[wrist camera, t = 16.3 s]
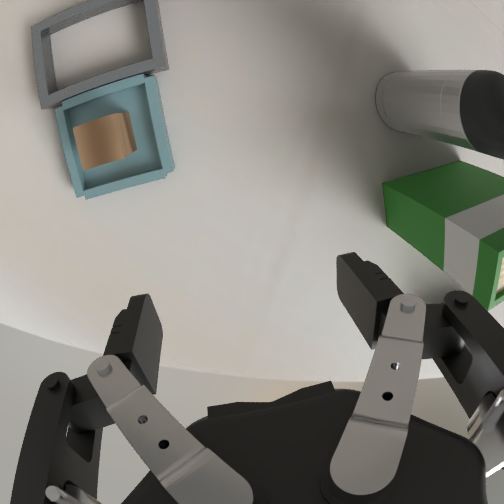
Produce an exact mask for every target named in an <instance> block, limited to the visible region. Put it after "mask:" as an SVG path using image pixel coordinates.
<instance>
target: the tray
mask: <svg viewBox="0 0 504 504" xmlns="http://www.w3.org/2000/svg"><path fill="white" fill-rule="evenodd" d="M125 112H129V114H130V119H131V124H132V128H133V133H134V137H135V142H136V146H137V150H136V151H134V152H133V153H131V154H130V155H128V156H127V157H125V158H123V159H120V160H116V161H113V162H110V163H106V164H103V165H100V166H97V167H94V168H90V169H87V170H84V171H83V168H82V164H81V161H80V157H79V153H78V149H77V145H76V141H75V136H74V132H73V128H74V127H76V126H79V125H82V124H84V123H87V122H90V121H93V120H96V119H98V118H101V117H104V116H107V115H110V114H114V113H125ZM55 114H56V119H57V123H58V128H59V133H60V137H61V141H62V146H63V150H64V154H65V158H66V161H67V165H68V169H69V173H70V176H71V180H72V183H73V187H74V190H75V193H76V197H77V198H78V197H81V196H84V195H85V199H90V198H93V197H96V196H100V195H103V194H107V193H110V192H114V191H117V190H121V189H125V188H128V187H132V186H136V185H140V184H144V183H148V182H151V181H155V180H160V179H164V178H165V177H166V175H167V173H168V172H172V171H174V169H175V166H174V161H173V157H172V152H171V147H170V143H169V138H168V133H167V128H166V123H165V118H164V113H163V108H162V103H161V98H160V93H159V87H158V82H157V77H155V76H150V77H147V76H146V75H145V74H140V75H136V76H133V77H130V78H126V79H123V80H120V81H117V82H114V83H110V84H107V85H105V86H102V87H99V88H96V89H93V90H90V91H88V92H85V93H82V94H80V95H77V96H75V97H72V98H69V99H67V100H65V101H62V106H61V107H59V108H57V109H55Z"/></svg>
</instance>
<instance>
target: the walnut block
mask: <svg viewBox="0 0 504 504" xmlns="http://www.w3.org/2000/svg"><path fill="white" fill-rule="evenodd" d="M73 132H74V136H75V141H76V145H77V149H78V153H79V157H80V161H81V164H82V168H83V171H84V170H87V169H90V168H94V167H97V166H100V165H103V164H106V163H110V162H113V161H116V160H120V159H123V158H125V157H127V156H128V155H130V154H131V153H133V152H134V151H136V150H137V146H136V142H135V137H134V133H133V128H132V124H131V119H130V114H129V112H125V113H114V114H110V115H107V116H104V117H101V118H98V119H96V120H93V121H90V122H87V123H84V124H82V125H79V126H76V127H74V128H73Z"/></svg>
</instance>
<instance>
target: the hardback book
mask: <svg viewBox="0 0 504 504" xmlns="http://www.w3.org/2000/svg"><path fill="white" fill-rule="evenodd" d="M382 186H383V193H384V202H385V211H386V221H387V227H388V228H390V229H391V230H392V231H394V232H395V233H396V234H398V235H399V236H400V237H402V238H403V239H404V240H405V241H407V242H408V243H409V244H410V245H412V246H413V247H414V248H416V249H417V250H418V251H419V252H421V253H422V254H423V255H424V256H426V257H427V258H428V259H429V260H430V261H432V262H433V263H434V264H435V265H436V266H438V267H439V268H440V269H441V270H442V271H444V272H445V273H446V274H447V275H448V276H450V277H451V278H452V279H453V280H454V281H455V282H456V283H458V284H459V285H460V286H461V287H462V288H463V289H464V290H466V291H467V292H468V293H469V294H471V295H472V296H473V297H474V298H475V299H476V300H477V301H478V302H479V303H480V304H481V305H482V306H483V307H484V308H485V309H486V310H487V311H489V310H490V309H492V308H493V307H495V306H496V305H498V304H499V303H501V302H502V301H504V177H502V176H500V175H497V174H495V173H492V172H490V171H487V170H484V169H482V168H479V167H476V166H474V165H471V164H468V163H465V162H463V161H458V162H455V163H451V164H447V165H444V166H440V167H437V168H433V169H430V170H426V171H423V172H419V173H416V174H412V175H409V176H406V177H402V178H399V179H395V180H392V181H389V182H385V183H382Z"/></svg>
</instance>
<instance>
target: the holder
mask: <svg viewBox="0 0 504 504" xmlns="http://www.w3.org/2000/svg"><path fill="white" fill-rule="evenodd" d="M139 1H143V0H89V1H87V2H84V3H82V4H79V5H77V6H75V7H72V8H70V9H68V10H65V11H63V12H61V13H59V14H56V15H54V16H52V17H50V18H48V19H46V20H44V21H42V22H40V23H38V24H36V25H34V26H32V27H31V30H32V44H33V55H34V64H35V72H36V79H37V86H38V92H39V99H40V104H41V109H50V108H53V107H56V106H58V105H60V104H62V101H65V100H67V99H69V98H72V97H75V96H77V95H80V94H82V93H85V92H88V91H90V90H93V89H96V88H99V87H102V86H105V85H107V84H110V83H114V82H117V81H120V80H123V79H126V78H130V77H133V76H136V75H140V74H145V75H148V74H152V73H156V72H160V71H164V70H168V69H169V66H168V60H167V55H166V49H165V43H164V37H163V30H162V24H161V18H160V11H159V4H158V0H144V5H145V12H146V19H147V26H148V32H149V39H150V45H151V51H152V57H153V59H149V60H145V61H141V62H138V63H134V64H131V65H128V66H124V67H121V68H118V69H115V70H112V71H109V72H106V73H103V74H100V75H97V76H95V77H92V78H89V79H86V80H84V81H81V82H79V83H76V84H74V85H71V86H69V87H66V88H64V89H61V90H59V91H57V86H56V80H55V73H54V66H53V58H52V49H51V40H50V35H51V34H53V33H55V32H57V31H59V30H61V29H64V28H66V27H68V26H71V25H73V24H75V23H78V22H80V21H83V20H85V19H88V18H90V17H93V16H96V15H98V14H101V13H104V12H107V11H110V10H113V9H116V8H119V7H122V6H125V5H129V4H132V3H135V2H139Z"/></svg>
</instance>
